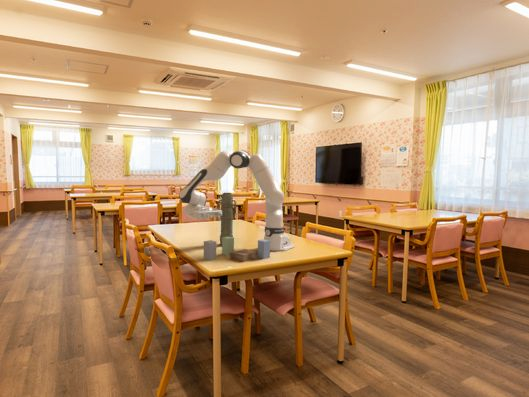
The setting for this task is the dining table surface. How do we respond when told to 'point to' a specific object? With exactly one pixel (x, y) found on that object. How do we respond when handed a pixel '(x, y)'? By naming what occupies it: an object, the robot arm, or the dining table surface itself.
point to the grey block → (210, 250)
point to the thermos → (227, 215)
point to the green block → (227, 245)
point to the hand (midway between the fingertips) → (215, 215)
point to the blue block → (263, 249)
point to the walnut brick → (243, 255)
